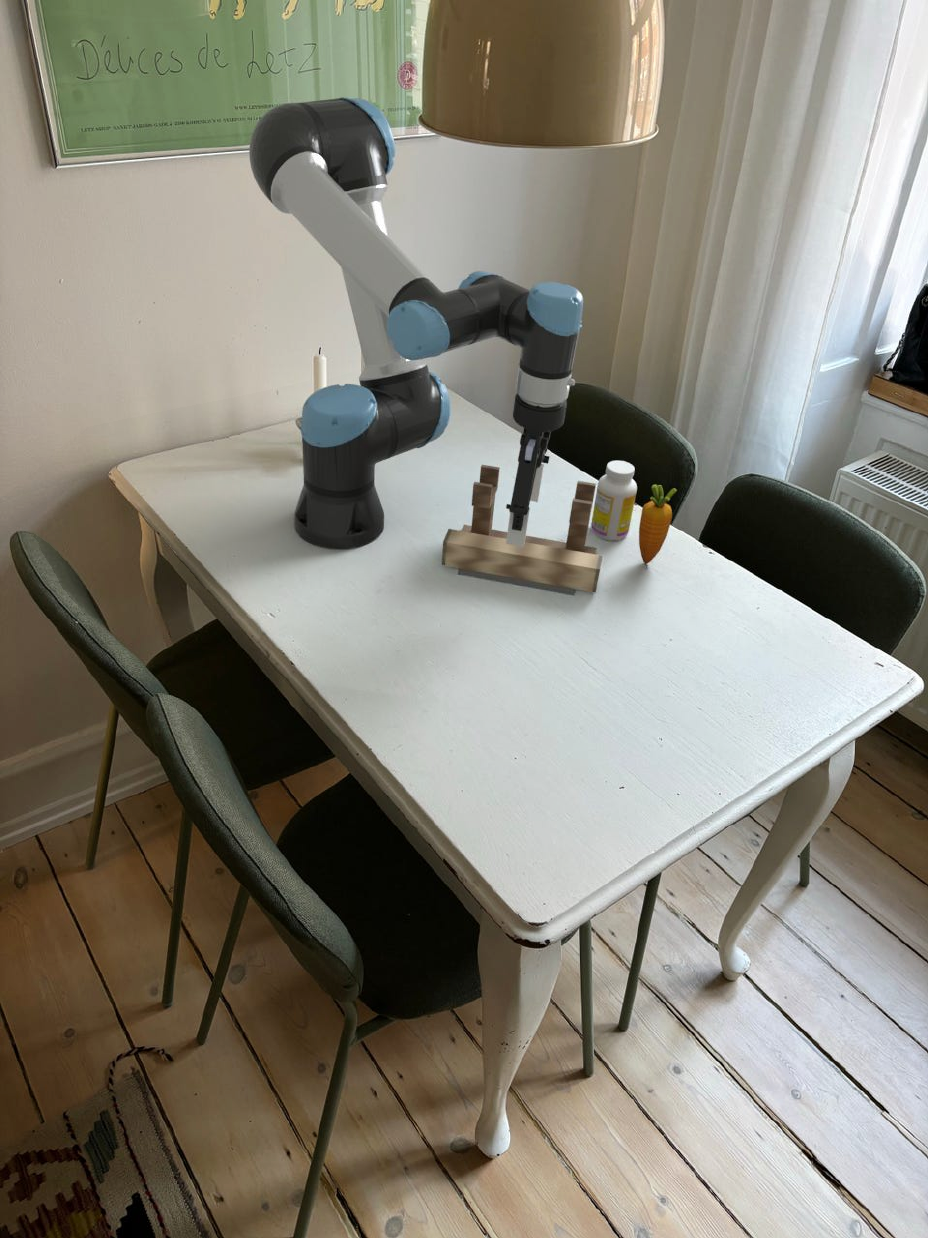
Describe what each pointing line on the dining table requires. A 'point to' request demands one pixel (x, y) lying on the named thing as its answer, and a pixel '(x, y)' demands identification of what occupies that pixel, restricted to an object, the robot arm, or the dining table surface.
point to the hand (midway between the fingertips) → (522, 521)
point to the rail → (521, 560)
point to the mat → (517, 581)
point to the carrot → (654, 524)
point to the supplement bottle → (614, 501)
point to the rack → (575, 539)
